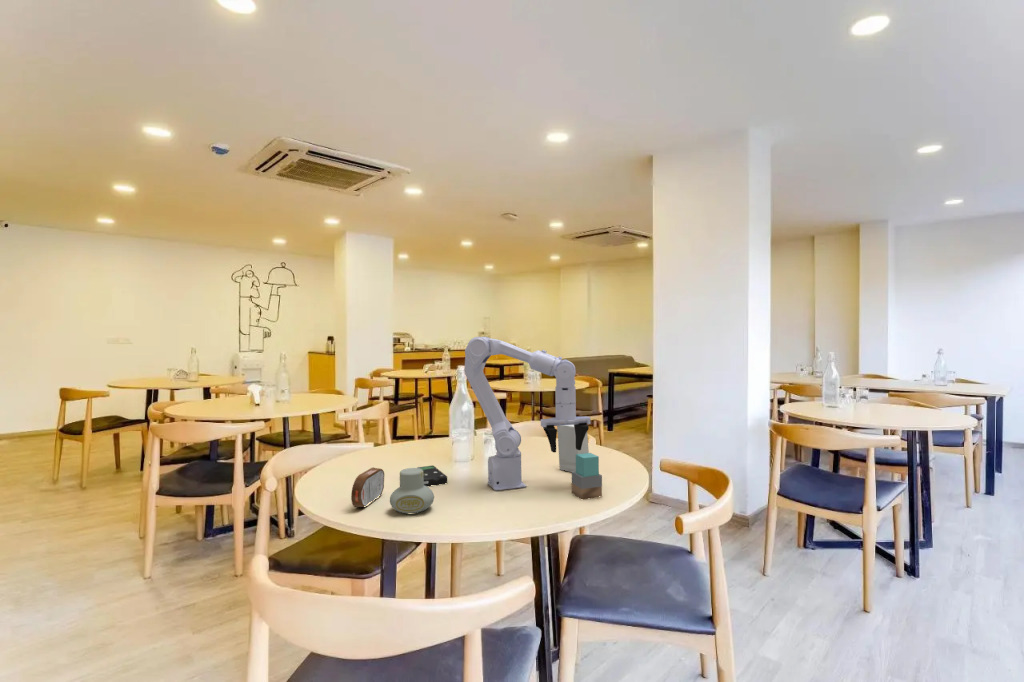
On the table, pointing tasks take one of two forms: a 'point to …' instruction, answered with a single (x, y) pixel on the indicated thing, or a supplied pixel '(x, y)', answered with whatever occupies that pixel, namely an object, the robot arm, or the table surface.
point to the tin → (367, 487)
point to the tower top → (586, 481)
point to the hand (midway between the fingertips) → (566, 450)
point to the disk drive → (433, 476)
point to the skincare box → (569, 447)
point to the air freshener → (411, 492)
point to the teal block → (587, 464)
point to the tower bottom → (586, 492)
